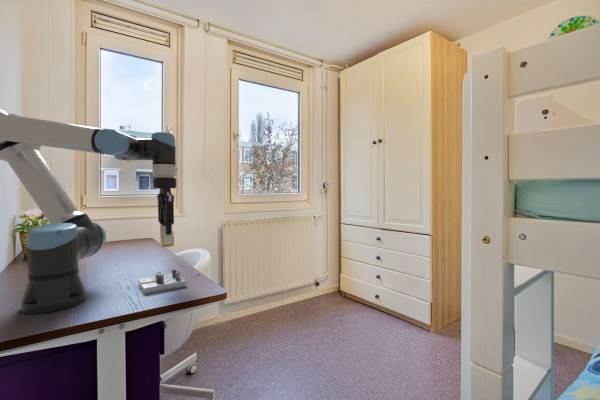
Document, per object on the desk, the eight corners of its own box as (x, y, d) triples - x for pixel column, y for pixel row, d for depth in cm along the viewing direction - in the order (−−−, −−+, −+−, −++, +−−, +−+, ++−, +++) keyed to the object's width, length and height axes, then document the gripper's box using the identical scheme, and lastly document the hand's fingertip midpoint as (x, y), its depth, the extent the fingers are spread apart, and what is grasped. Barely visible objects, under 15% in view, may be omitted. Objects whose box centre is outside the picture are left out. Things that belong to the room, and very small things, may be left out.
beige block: (163, 247, 102) (162, 227, 102) (159, 245, 105) (158, 226, 105) (176, 245, 105) (174, 226, 105) (172, 244, 108) (170, 225, 108)
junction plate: (144, 294, 95) (144, 280, 95) (138, 284, 104) (138, 272, 104) (186, 286, 102) (185, 273, 102) (177, 278, 112) (176, 266, 112)
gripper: (182, 176, 100) (184, 245, 100) (169, 178, 113) (171, 238, 114) (158, 175, 95) (160, 247, 96) (147, 177, 108) (149, 240, 109)
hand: (166, 242), depth 105 cm, fingers closed on beige block, 4 cm apart
